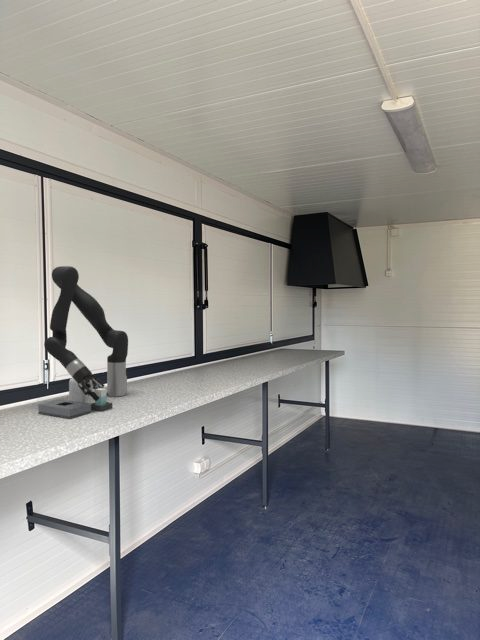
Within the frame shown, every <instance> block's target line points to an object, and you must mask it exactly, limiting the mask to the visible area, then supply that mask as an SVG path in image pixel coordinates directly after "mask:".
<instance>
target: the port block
mask: <svg viewBox="0 0 480 640" xmlns="http://www.w3.org/2000/svg"><path fill="white" fill-rule="evenodd" d="M91 404H92V402H88V403H84V402H77V401H70V400H69V399H63V398H59V399H55V400H52V401H48V402H43V403H38V405H37V406H38V407H37V409H38V412H37V413H38V415H44V416H51V417H56V418H61V419H62V418H63V419H68V420H72V419H74V418H77V417H81V416H85V415H88V414H91V413H92V410H91Z"/></svg>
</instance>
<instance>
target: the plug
mask: <svg viewBox="0 0 480 640" xmlns="http://www.w3.org/2000/svg"><path fill="white" fill-rule="evenodd" d="M94 392H95V393H96V394H97V396H98V397H99V399H98V400H97V401H95V400H94V403H95V405H104V404H107V402H108V401H107V398H108V396H107V388H99V389H95V390H94Z"/></svg>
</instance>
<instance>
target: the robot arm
mask: <svg viewBox="0 0 480 640" xmlns="http://www.w3.org/2000/svg"><path fill="white" fill-rule="evenodd" d="M79 276H80V275H79V272H78V270H77V269H76V267H74V266H69V265H65V266H64V265H62V266H56V267H54V269H52V272H51V279H52V281H53V283H54V284H55V285H56V286H57V287H58V288H59V289H60V293H59V296H58V299H57V302H56V304H55V305H54V307H53V309H52V312H51V318H50V322H49V323H50V324H49V330H51V331H52V336H49V337H47V338H46V339H45V340H44V344H43V345H44V349H45V350H46V352H47V353H48V354H49V355H50V356H51V357H53V358H54V359H55V360H57V361H58V362H59V363H60V364H61V365H62V366H63V367H64V369H65V370H66V371H67V373H68V375H70V376H71V378H73V379H74V380H75V381H76V382H77V383H78V384H79V385H78V386H79V388H80V389H81V390H82V391H83V393H84V394H85V395H87V394H88V395H89V396H90V397H91V398H92V399H93V401H94V402H95V401H97V400H98V399H99V397H98V396H97V394H96V393H95V389H99V388H104V387H107V388H106V389H107V397H112V398H113V397H114V398H116V397H124V396H126V395H127V394H128V376H127V357H128V355H129V354H128V352H129V336H128V334H127V332H125V330H124V331H123V330H117V329H114V328H112V326H111V325H110V324H109V323H108V321H107V320H106V313H105V310H104V308H103V307H102V306H101V305H100V303H99V301H97V298H95V297H93V295H91V294H90V293H89V292H87V291H85V290H84V289H83V288H81V287H80V286H79V285H78V282H79V280H80V279H79V278H80V277H79ZM72 303H73V305H74V306H75V307H76V308H77V310H78V311H79V312H80V313H81V314H82V316H83V317H84V318H85V319H86V320H87V322H88V323H90V325H91V326H92V327H93V329H94V330H95V331H96V333H97V334H98V335H99V337H100V338H101V340H102V342H103V343H104V344H105V345H106V347H108V348H111V349H112V353H111V354H110V355H108V356H107V359H106V361H107V362H106V365H107V369H106V370H107V371H106V373H107V374H106V377H107V378H106V379H107V380H106V383H107V384H106V385H105V384H104V383H103V382H102V381H101V380H100V378H98V377H97V376H95V377H93V376H92V375H93V374H92V371H91V370H90V369H89V368H88V367H87V365H85V363H84V362H83V361H82V360H81V359H80V358H79V357H77V355H76V354H75V353H74V352H73V351H72V350H70V349H68V348H66V346H67V343H68V341H67V338H68V337H67V325H68V320H69V314H70V313H69V312H70V309H71V305H72ZM104 389H105V388H104ZM85 390H86V391H85ZM89 396H88V397H89Z"/></svg>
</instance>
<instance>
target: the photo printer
mask: <svg viewBox="0 0 480 640" xmlns="http://www.w3.org/2000/svg"><path fill="white" fill-rule="evenodd" d="M78 385H79V384H78V383H77V382H76V381H75V380H74V379H73V377H71V378H70V379H69V381H68V400H70V401H77V402H84V403H89V395H88V394H87V395H85V394H84V393H83V391H82V390H81V389H80V388H79V386H78ZM85 391H86V390H85Z"/></svg>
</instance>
